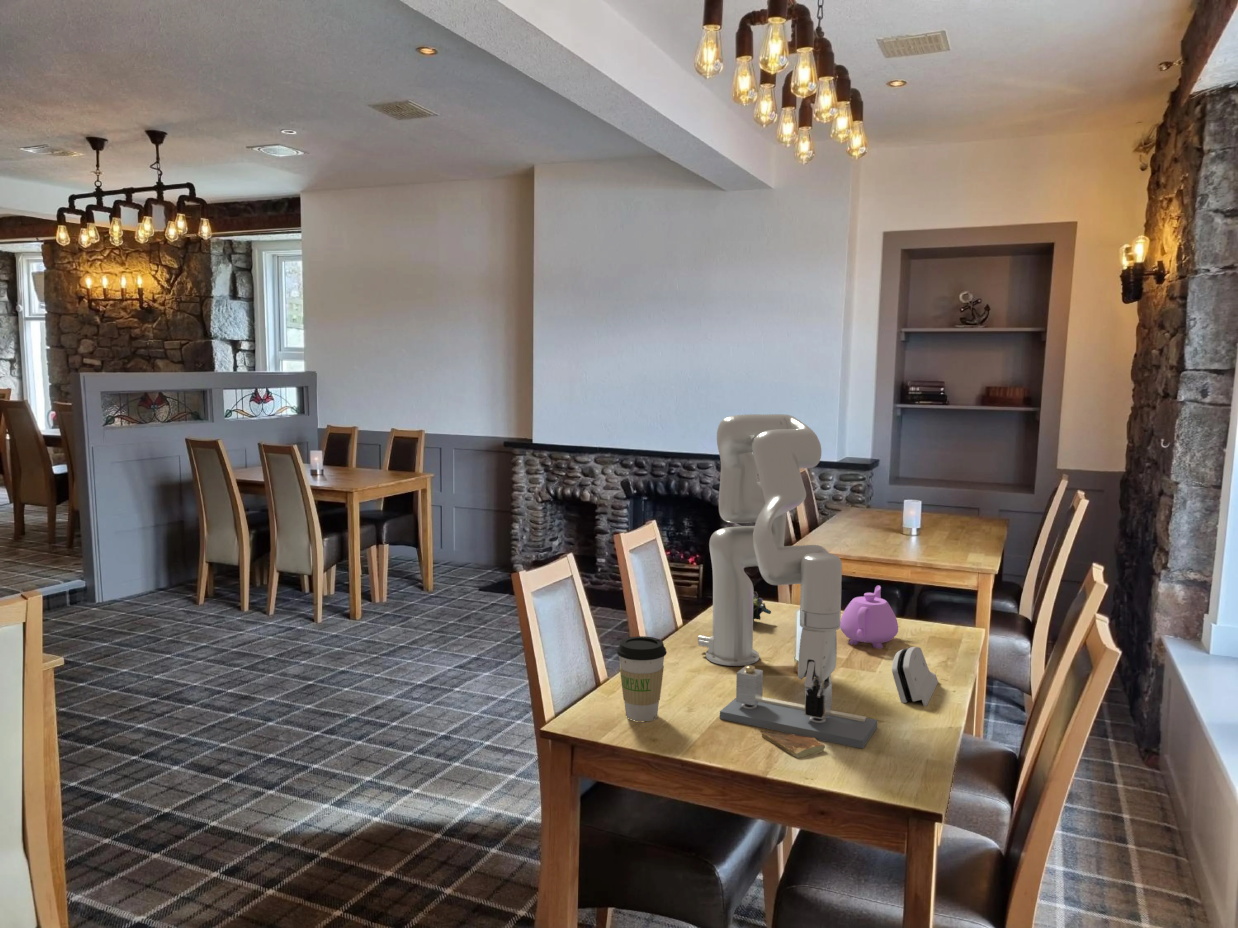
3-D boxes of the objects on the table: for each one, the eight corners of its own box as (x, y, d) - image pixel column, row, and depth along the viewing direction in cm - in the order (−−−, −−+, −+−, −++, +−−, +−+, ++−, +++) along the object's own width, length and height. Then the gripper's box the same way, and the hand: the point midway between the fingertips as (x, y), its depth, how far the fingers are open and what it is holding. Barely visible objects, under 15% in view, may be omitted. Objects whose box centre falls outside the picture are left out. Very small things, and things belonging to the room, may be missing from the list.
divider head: (804, 718, 168) (805, 679, 167) (810, 711, 171) (811, 673, 170) (824, 722, 166) (825, 683, 165) (831, 715, 169) (832, 677, 168)
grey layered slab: (926, 706, 179) (910, 659, 179) (903, 710, 181) (887, 663, 182) (938, 681, 193) (923, 637, 194) (917, 685, 196) (902, 641, 196)
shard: (759, 738, 165) (759, 729, 164) (793, 731, 168) (793, 722, 168) (795, 761, 155) (795, 751, 155) (829, 753, 158) (829, 743, 158)
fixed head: (736, 704, 175) (736, 667, 174) (743, 698, 178) (744, 662, 177) (755, 708, 173) (755, 671, 172) (762, 702, 176) (762, 665, 175)
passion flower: (750, 640, 241) (777, 606, 240) (742, 644, 231) (770, 609, 229) (718, 613, 245) (745, 580, 243) (709, 616, 235) (737, 581, 233)
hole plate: (719, 718, 173) (719, 708, 172) (740, 700, 182) (740, 691, 182) (862, 748, 159) (862, 737, 159) (877, 727, 168) (877, 717, 168)
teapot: (851, 626, 235) (852, 581, 234) (906, 634, 228) (907, 587, 227) (830, 647, 218) (831, 598, 216) (889, 656, 211) (890, 605, 209)
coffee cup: (609, 711, 177) (608, 638, 175) (653, 703, 180) (653, 632, 179) (629, 729, 168) (628, 653, 166) (674, 721, 171) (675, 646, 170)
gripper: (814, 605, 175) (812, 694, 177) (786, 626, 161) (784, 722, 163) (851, 610, 172) (849, 700, 174) (826, 632, 157) (824, 730, 159)
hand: (817, 710), depth 168 cm, fingers closed on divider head, 4 cm apart
